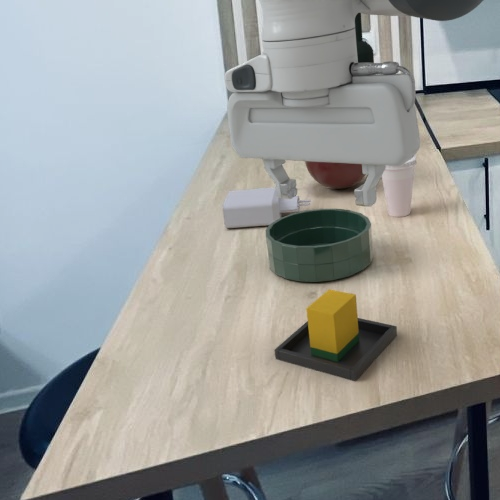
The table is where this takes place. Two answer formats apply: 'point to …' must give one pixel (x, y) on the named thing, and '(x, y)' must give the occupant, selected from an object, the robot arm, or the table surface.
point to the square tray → (352, 363)
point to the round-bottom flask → (335, 174)
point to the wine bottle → (362, 44)
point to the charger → (257, 207)
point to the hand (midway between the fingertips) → (325, 200)
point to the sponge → (333, 325)
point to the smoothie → (399, 187)
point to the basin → (319, 245)
